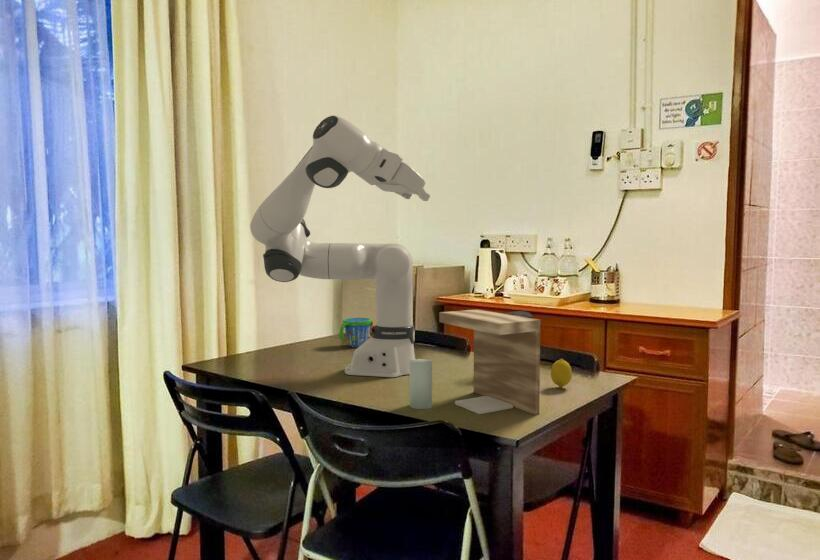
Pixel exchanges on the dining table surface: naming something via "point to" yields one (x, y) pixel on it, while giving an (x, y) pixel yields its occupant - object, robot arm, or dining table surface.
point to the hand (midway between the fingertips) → (418, 197)
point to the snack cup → (355, 330)
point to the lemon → (561, 373)
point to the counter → (501, 360)
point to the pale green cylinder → (420, 383)
